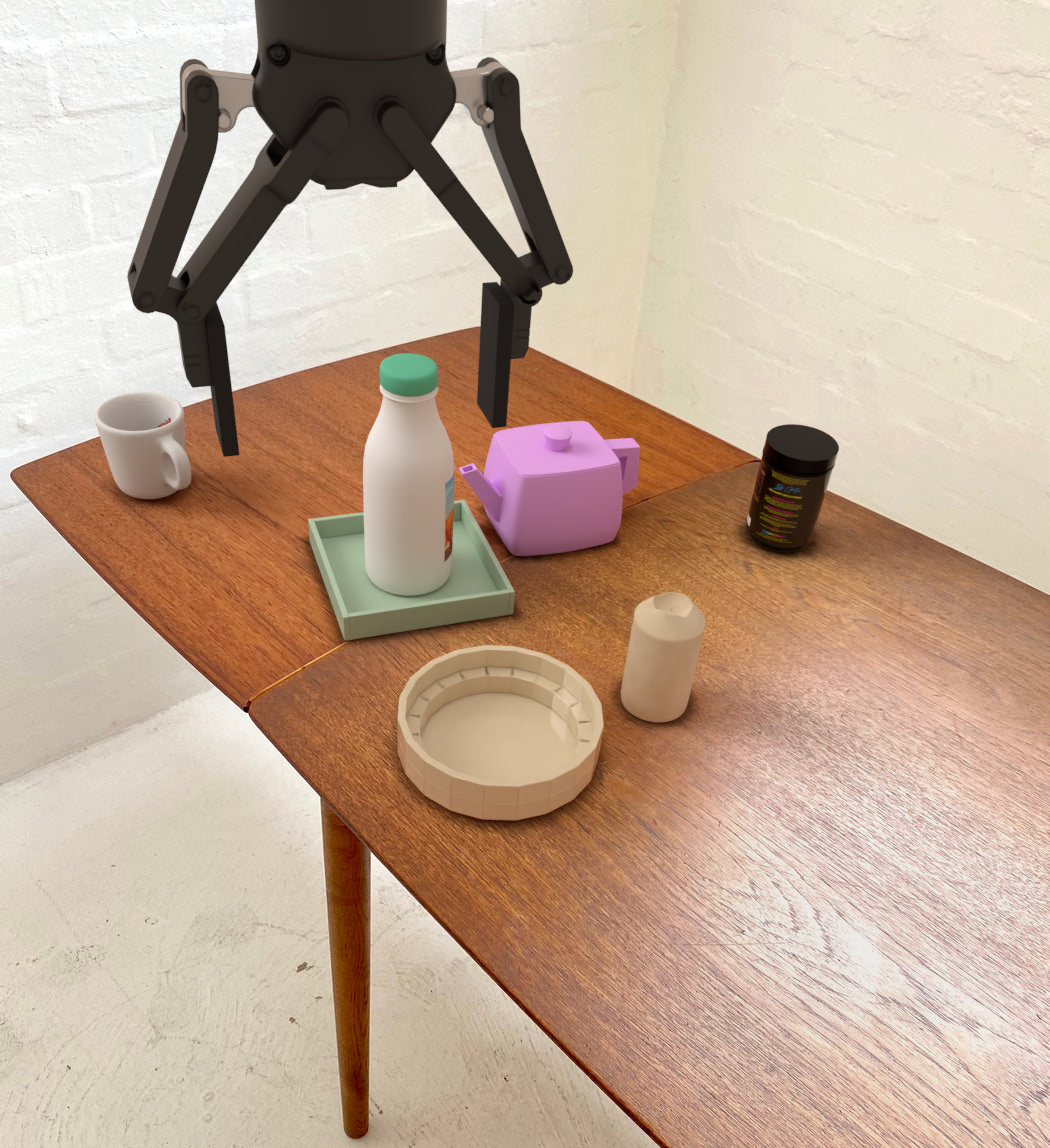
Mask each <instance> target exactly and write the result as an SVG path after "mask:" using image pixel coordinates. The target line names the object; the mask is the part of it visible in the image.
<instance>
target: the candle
mask: <svg viewBox="0 0 1050 1148" xmlns="http://www.w3.org/2000/svg"><path fill="white" fill-rule="evenodd" d="M706 627H707V620H706V617H705V615H704V613H703V611H702V610H701V609H700V608H699V607H698V606H697V605H696V604H695V603H694V602H693V601H692V600H691V598H690V597H689V596H688V595H686V594H684V593H680V592H676V591H667V592H664V593H662V594H655V595H653V596H651V597H649V598H646V599H644V600H643V601H641V602H639V604H637V606H636V607H635V609H634V614H633V620H632V625H631V630H630V635H629V642H628V646H627V647H628V649H627V654H626V658H625V660H626V661H625V665H624V670H623V676H622V682H621V689H620V701H621V703H622V706H623V707H624V708H625V710H626V711H627V712H628V713H630V714H631V715H632V716H633V717H636V718H637V719H640V720H643V721H646V722H651V723H667V722H671V721H674V720H676V719H678V718H680V717H681V716H682V715H683V714H684V713H685V711H686V709H687V707H688V704H689V700H690V696H691V692H692V687H693V683H694V679H695V676H696V675H695V674H696V670H697V666H698V662H699V657H700V653H701V649H702V644H703V640H704V636H705V630H706Z"/></svg>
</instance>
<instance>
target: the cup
mask: <svg viewBox="0 0 1050 1148" xmlns="http://www.w3.org/2000/svg"><path fill="white" fill-rule="evenodd" d="M185 417H186V416H185V410H184V407H183V406H182V404H181V403H180V402H179V401H178V400H177V399H175V398H173V397H171V396H169V395H166V394H162V393H157V392H152V391H151V392H150V391H137V392H129V393H124V394H119V395H116V396H114V397H111V398H109V399H107V400H105V401H104V402H103V403H101V404H100V405H98V407H97V408H96V410H95V411H94V422H95V426H96V429H97V431H98V435H99V438H100V441H101V445H102V447H103V450H104V453H105V456H106V459H107V463H108V465H109V469H110V471H111V472H110V473H111V474H112V477H113V479H114V481H115V484H116V485H117V488H119V490H120V491H121V492H122V493H124V494H126V495H127V496H128V497H132V498H135V499H140V500H156V499H162V498H165V497H169V496H171V495H173V494H174V493H176V492H178V491H180V490H184V489H187V488H188V487H189V486H190V484H191V483H192V466H191V463H190V459H189V456H188V454H187V451H186V424H185V423H186V420H185V419H186V418H185Z"/></svg>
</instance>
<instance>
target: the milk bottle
mask: <svg viewBox="0 0 1050 1148" xmlns="http://www.w3.org/2000/svg"><path fill="white" fill-rule="evenodd" d="M379 383H380V385H379V392H380V393H381V395H382V400H381V405H380V409H379V412H378V414H377V416H376V419H375V421H374V423H373V425H372V427H371V429H370V431H369V434H368V436H367V439H366V442H365V446H364V452H363V461H362V462H363V463H362V484H363V485H362V497H363V500H362V501H363V512H364V540H365V565H366V572H367V575H368V576H369V578H370V580H371V581H372V582H373V584H375V585H376V586H377V587H378V588H380V589H382V590H384V591H386V592H389V593H392V594H397V595H405V596H416V595H422V594H426V593H430V592H432V591H434V590H437V589H438V588H440V587H441V586H443V584H444V583H445V582H446V581H447V579H448V578H449V576H450V574H451V567H452V546H453V516H454V501H455V459H454V451H453V446H452V443H451V439H450V437H449V434H448V432H447V430H446V428H445V426H444V424H443V421H442V419H441V416H440V414H439V412H438V411H439V410H438V408H437V403H436V396H437V395H438V392H439V387H438V384H439V366H438V364H437V362H436V361H434V360H433V359H432V358H430V357H428V356H426V355H423V354H419V353H410V352H408V353H407V352H403V353H396V354H391V355H389V356H387V357H386V358H384V359H383V360H382V361H381V362H380V365H379Z"/></svg>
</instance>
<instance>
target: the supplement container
mask: <svg viewBox="0 0 1050 1148" xmlns="http://www.w3.org/2000/svg"><path fill="white" fill-rule="evenodd" d="M839 450H840V446H839V443H838V442H837V440H836V439H835V438H834V437H833V436H832V435H830V434H828V433H827V432H825V431H823V430H821V429H819V428H816V427H813V426H808V425H804V424H794V423H789V424H782V425H776V426H774V427H772V428H771V429H769V430H768V432H767V433H766V436H765V441H764V445H763V448H762V455H761V460H760V463H759V467H758V471H757V475H756V479H755V484H754V487H753V491H752V495H751V500H750V504H749V508H748V512H747V516H746V521H745V532H746V534H747V535H748V537H749V538H750V540H751V541H752V542H753V544H756V545H757V546H759V547H760V548H763V549H765V550H767V551H770V552H773V553H781V554H790V553H797V552H799V551H801V550H803V549H805V548H806V547H808V546H809V545H810V544H811V542H812V541H813V537H814V535H815V531H816V528H817V524H818V521H819V517H820V514H821V511H822V507H823V504H824V501H825V497H826V494H827V491H828V487H829V483H830V481H831V476H832V473H833V470H834V468H835V465H836V461H837V457H838V454H839Z"/></svg>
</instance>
